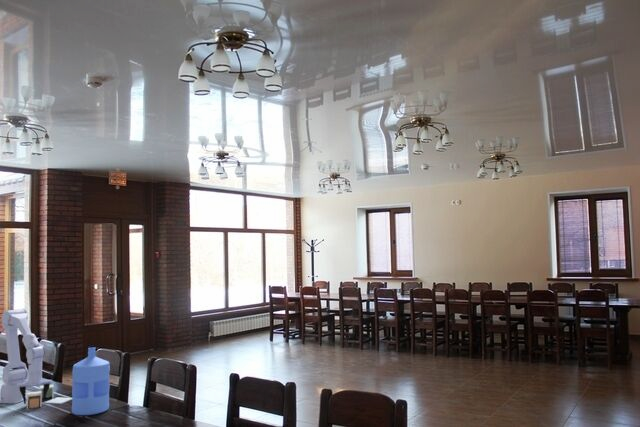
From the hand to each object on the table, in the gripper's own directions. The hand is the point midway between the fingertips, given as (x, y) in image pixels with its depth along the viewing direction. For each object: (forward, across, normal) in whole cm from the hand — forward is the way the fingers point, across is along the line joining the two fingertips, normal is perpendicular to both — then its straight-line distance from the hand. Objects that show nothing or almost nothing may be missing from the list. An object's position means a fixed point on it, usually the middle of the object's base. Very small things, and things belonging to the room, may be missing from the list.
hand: (34, 402), depth 246 cm
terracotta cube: (+2, 0, 0) cm, 2 cm away
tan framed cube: (+2, 0, 0) cm, 2 cm away
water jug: (+2, +22, -21) cm, 31 cm away
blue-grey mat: (+2, +11, +4) cm, 12 cm away
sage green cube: (+2, +5, +13) cm, 14 cm away
